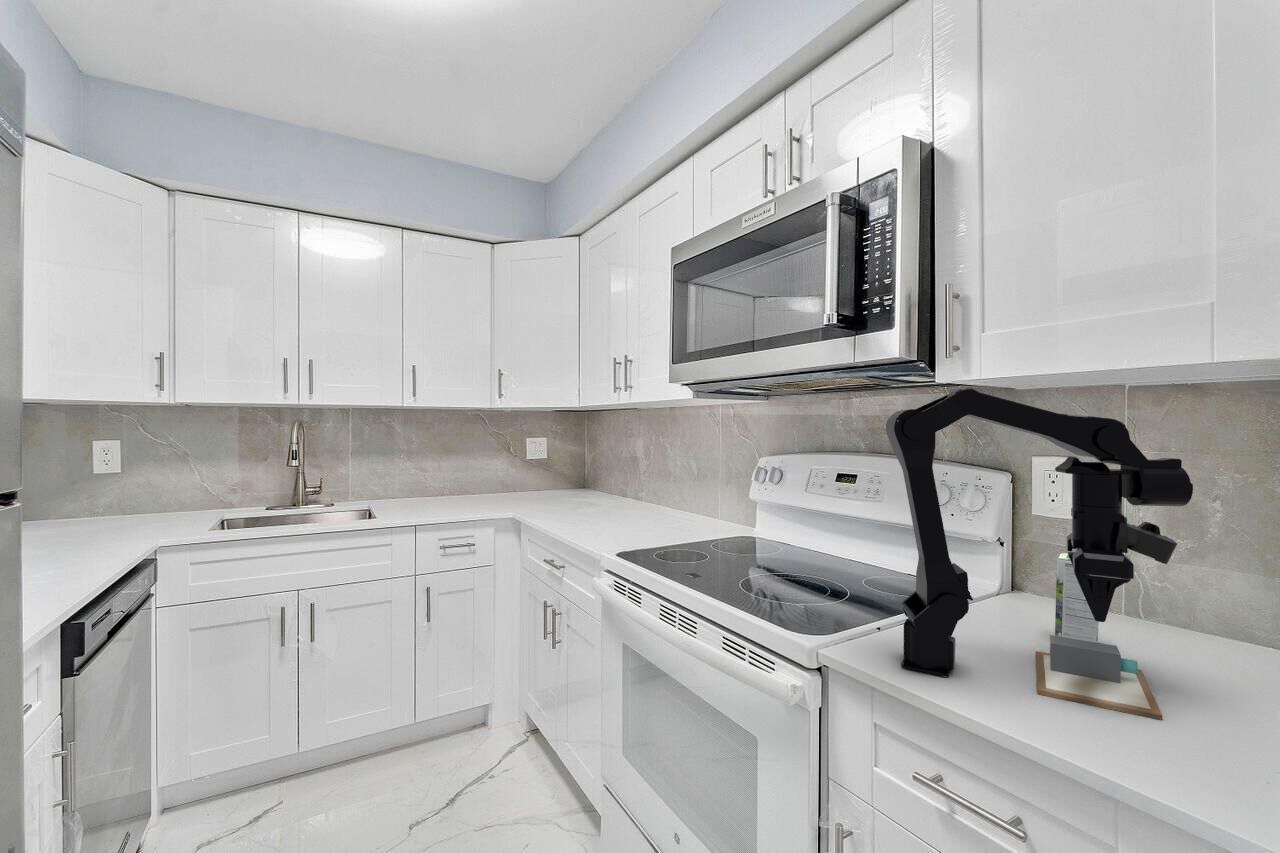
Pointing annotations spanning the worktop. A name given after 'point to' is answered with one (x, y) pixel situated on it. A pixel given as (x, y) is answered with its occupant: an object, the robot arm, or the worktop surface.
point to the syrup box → (1072, 605)
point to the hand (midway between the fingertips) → (1096, 612)
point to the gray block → (1089, 659)
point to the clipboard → (1098, 690)
